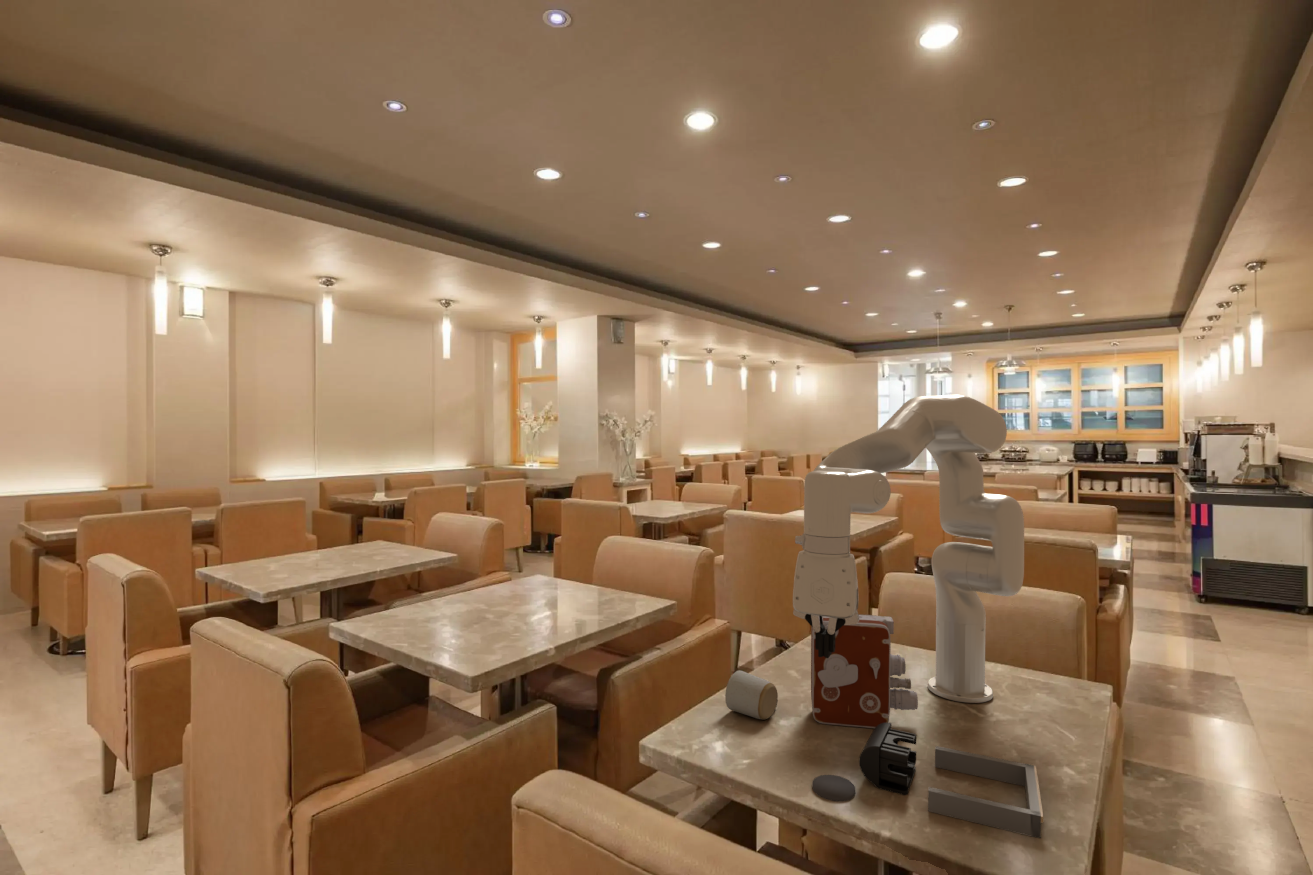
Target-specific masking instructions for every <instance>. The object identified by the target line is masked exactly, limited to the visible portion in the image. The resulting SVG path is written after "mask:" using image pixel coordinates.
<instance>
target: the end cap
mask: <svg viewBox="0 0 1313 875" xmlns="http://www.w3.org/2000/svg"><path fill="white" fill-rule="evenodd" d="M899 742H903V743H905V744H906V743H907V744H911V745H914V746H915V745H916V746H917V734H916V733H913V732H908V731H904V730H898V729H894V728H892V722H887V723H881V724H879V725H877V726H876V727H875V728H873V730H872V733H871V734H870V736H869V737H868V740H867V742H866V744H865V745H864V746H863V749H862V750H861V753H860V755H859V759H858V763H859V768H860V771H861V773H862V774H863V777H865V779H867V781H869V782H870V783H871V784H872V785H873V786H874V787H875V788H877V789H880V790H884V791H888V792H889V793H895V794H898V795H902V796H907V795H908V794H909V791H910V789H911V785H912V782H913V779H914V776H915V773H916V765H917V751H915V750H912V748H911V747H909V746H908V747H907V746H903V745H900V744H898V743H899Z"/></svg>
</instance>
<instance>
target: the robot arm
mask: <svg viewBox="0 0 1313 875" xmlns="http://www.w3.org/2000/svg"><path fill="white" fill-rule="evenodd" d="M1007 433H1008V432H1007V425H1006V421H1005V419H1004V417H1003V416H1002V414H1001V413H1000V412H998V411H997V410H995V409H994V408H992V407H990V406H988V405H987V404H985V403H984V402H981V401H980V400H978V399H974V398H972V397H969V396H967V395H962V394H943V395H923V396H922V395H919V396H914V397H913V398H910V399H908V400H907V401H905V402H904V403H903V404H902V406H901V407H899V408H898V410H896V412H894V413H893V414H892V416H890V418H889V419H888V420H887V421H886V422H885V423H884V424H883V425H881V427H880V428H879V429H878V430H876V431H875V432H872V433H869V434H867V435H864V436H861V437H859V438H857V439H855V440H854V441H851V442H848V443H847V444H844V445H842V446H840V447H838V448H837V449H834V450H833V451H832V452H830V453H829V454H827V456H826V457H825V458H823V460H821V461H820V462H819V464H817V466H816V467H814V470H813V471H808V472H807V474H806V475H805V476H804V477H805V478H804V488H803V489H804V490H803V491H804V493H803V494H804V497H803V533H802V534H801V535H795V537H794V542H795V544H797V545H801V548H802V550H800V551H798V554H797V558H796V562H795V569H794V578H793V590H792V607H793V611H792V614H793V616H795V617H797V618H799V619H802V620H805V621H806V622H807V623H808V624H809V625H810V627H811V626H812V628H813V630H814V632H815V649H816V650H818V657H823V656H824V657H825V658H829V657H830V655H831V654H832V652H835V632H836V631H837V630H838V629H840V628H841V627H842V626H843V625H852V624H857V623H858V622H859V615H858V614H859V612H858V609H859V583H858V582H859V581H858V573H857V564H856V559H855V555H854V554H853V553H851V514H852V513H859V514H874V513H877V512H880V511H881V510H882V509H884V508H885V507H886V506H887V504H888V503H889V501H890V499H891V493H892V492H891V486H890V482H889V480H888V479H887V477H886V476H884V475H883V474H885V473H890V472H894V471H897V470H901V469H903V468H906V467H908V466H910V465H911V464H913V463H914V461H915V460H916V459H917V458H918V457H919V456H920V455H921V454H922V452H924V450H925V449H926V450H927V451H928V453H930V455H931V457H932V458H933V460H934V461H935V463H936V467H937V470H938V475H939V476H938V477H939V478H938V479H939V484H938V485H939V487H938V488H939V490H938V491H939V493H938V494H939V497H938V498H939V500H938V501H939V506H938V508H939V510H938V511H939V524H940V526H941V529H942V530H943V531H944V533H946V534H949V535H951V536H956V537H961V538H968V539H975V540H982V541H983V540H984V541H990V542H991V544H992V546H989V545H981V544H975V543H968V542H959V541H958V542H957V541H951V542H950V541H949V542H944V543H941V544H939V545H938V546H937V547H936V548H935V549H934V551H933V553H932V556H931V569H932V570H931V571H932V574H933V580H934V587H935V600H936V601H935V603H936V604H935V605H936V606H935V607H936V608H935V613H936V615H935V616H936V618H935V676H933V677H931V678H930V679H929V678H928V681H927V688H928V690H929V691H930V692H931V693H933V694H934V695H936V696H939V697H941V698H942V699H946V700H949V701H955V702H959V703H966V704H967V703H968V704H969V703H970V704H979V703H987V702H989V701H991V700H992V699H993V698H994V691H993V689H992V688H991V687H990V686H989V685H988V684H986V616H987V615H986V609H985V606H984V603H983V601H982V599H981V598H980V596H979V595H978V593H982V594H989V595H994V596H1001V597H1011V596H1015V595H1017V594H1018V593H1019V592H1020V590H1021V589H1022V587H1023V582H1024V577H1025V518H1024V517H1025V515H1024V512H1023V509H1022V506H1021V504H1020V503H1019V501H1018V500H1017V499H1016V498H1014V497H1012V496H1009V495H1005V494H998V493H986V491H985V488H984V468H983V465H982V463H981V462H980V459H979V458H978V457H977V455H976V453H977V454H980V453H981V454H990V453H994V452H997V451H998V450H1000V449H1001V448H1002V447H1003V445H1004V444H1005V442H1006V438H1007ZM977 592H978V593H977ZM823 616H826V617H829V623H828V628H827V629H825V626H824V623H823Z"/></svg>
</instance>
